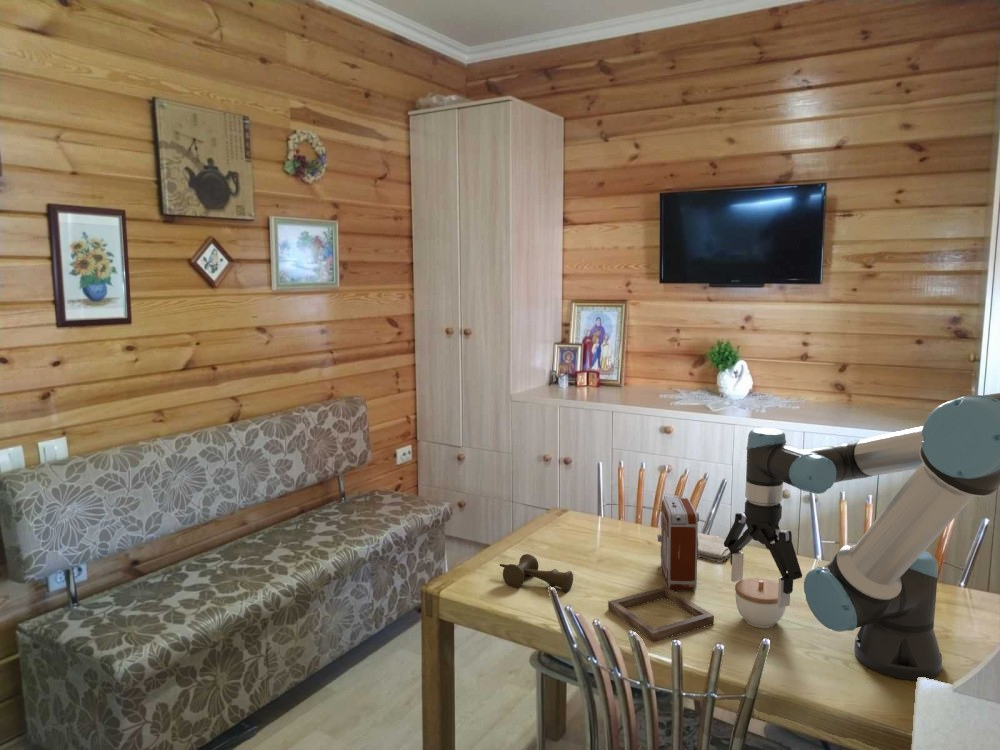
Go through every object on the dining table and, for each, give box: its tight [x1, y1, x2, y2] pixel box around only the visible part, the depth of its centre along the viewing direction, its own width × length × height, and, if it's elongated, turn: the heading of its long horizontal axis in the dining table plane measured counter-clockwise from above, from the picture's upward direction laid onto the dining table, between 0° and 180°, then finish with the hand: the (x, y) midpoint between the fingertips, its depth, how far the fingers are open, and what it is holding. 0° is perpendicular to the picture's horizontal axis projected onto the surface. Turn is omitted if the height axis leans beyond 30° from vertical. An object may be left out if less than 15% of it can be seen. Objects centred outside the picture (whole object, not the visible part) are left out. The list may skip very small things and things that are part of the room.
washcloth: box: [698, 532, 731, 563], centre depth 199 cm, size 12×18×3 cm, turn 53°
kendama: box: [499, 553, 574, 593], centre depth 180 cm, size 6×10×20 cm
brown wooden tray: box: [607, 585, 715, 643], centre depth 162 cm, size 16×16×2 cm
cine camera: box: [656, 494, 700, 592], centre depth 181 cm, size 9×19×20 cm, turn 174°
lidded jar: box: [734, 577, 787, 629], centre depth 158 cm, size 11×11×9 cm
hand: (759, 592), depth 158 cm, fingers open, 13 cm apart
